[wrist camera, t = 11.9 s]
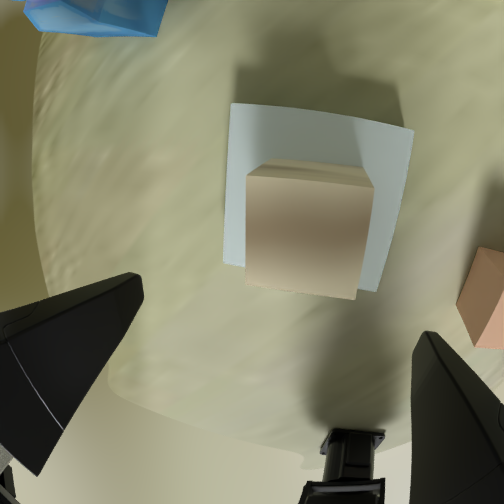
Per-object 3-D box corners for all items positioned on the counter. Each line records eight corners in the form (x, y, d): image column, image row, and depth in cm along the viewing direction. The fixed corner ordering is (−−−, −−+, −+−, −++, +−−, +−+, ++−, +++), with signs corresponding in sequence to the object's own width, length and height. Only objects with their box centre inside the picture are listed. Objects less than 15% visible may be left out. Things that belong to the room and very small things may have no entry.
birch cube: (352, 252, 17) (355, 300, 13) (268, 241, 18) (245, 284, 14) (363, 167, 15) (374, 188, 10) (271, 158, 16) (245, 175, 12)
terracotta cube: (500, 310, 18) (521, 350, 14) (455, 304, 19) (474, 347, 15) (523, 257, 16) (553, 291, 11) (478, 245, 17) (507, 281, 12)
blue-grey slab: (372, 269, 20) (376, 292, 18) (236, 244, 22) (223, 263, 20) (402, 128, 16) (414, 130, 13) (246, 104, 18) (230, 103, 15)
